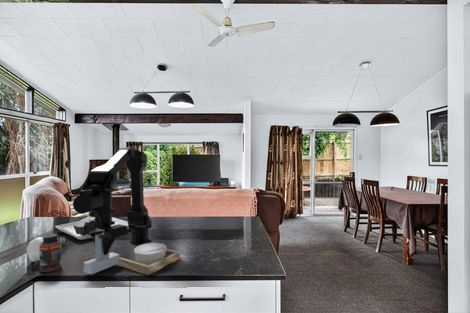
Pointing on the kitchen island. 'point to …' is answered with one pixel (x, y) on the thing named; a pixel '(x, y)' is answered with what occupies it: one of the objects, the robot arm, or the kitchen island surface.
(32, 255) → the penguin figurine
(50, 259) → the supplement bottle
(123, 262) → the oak corral
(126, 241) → the kitchen island surface
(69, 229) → the square plate
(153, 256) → the ramekin
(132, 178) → the robot arm
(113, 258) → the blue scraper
